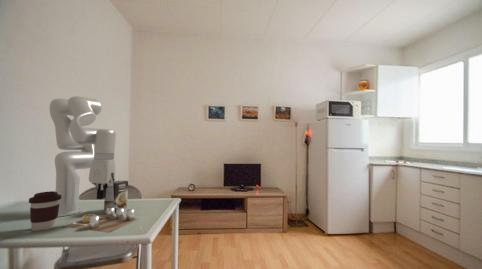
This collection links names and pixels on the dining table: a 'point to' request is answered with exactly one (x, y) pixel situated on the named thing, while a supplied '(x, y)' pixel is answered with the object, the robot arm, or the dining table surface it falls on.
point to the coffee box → (116, 196)
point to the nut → (87, 218)
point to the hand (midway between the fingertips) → (101, 198)
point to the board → (102, 224)
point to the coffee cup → (44, 210)
